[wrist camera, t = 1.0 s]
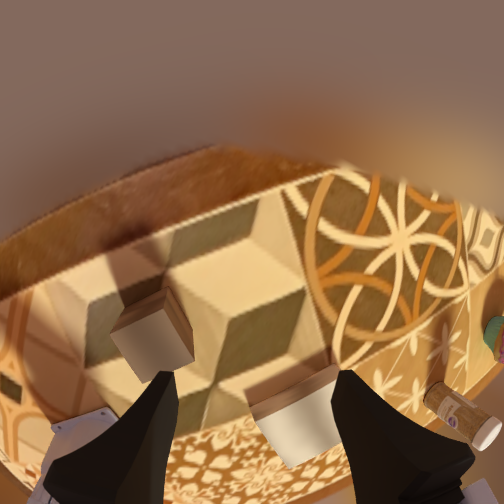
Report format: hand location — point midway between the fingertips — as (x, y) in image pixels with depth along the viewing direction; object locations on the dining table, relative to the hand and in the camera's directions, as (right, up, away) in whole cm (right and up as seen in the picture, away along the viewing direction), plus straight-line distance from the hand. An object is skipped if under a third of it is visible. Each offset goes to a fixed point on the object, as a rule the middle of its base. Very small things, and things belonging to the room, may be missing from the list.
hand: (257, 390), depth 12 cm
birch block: (+6, -12, +18) cm, 23 cm away
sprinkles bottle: (+27, -15, +23) cm, 39 cm away
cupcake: (+39, -7, +24) cm, 47 cm away
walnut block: (-8, 0, +13) cm, 16 cm away
